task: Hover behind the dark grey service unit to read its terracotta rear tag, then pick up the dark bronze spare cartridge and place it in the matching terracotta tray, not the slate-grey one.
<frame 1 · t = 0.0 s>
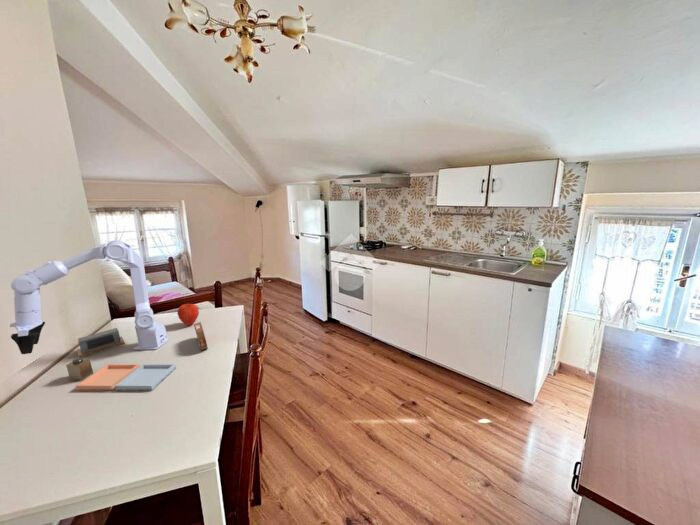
hand: (30, 348, 93), 11 cm above the table, tool pointing down, fingers open, 7 cm apart
service unit: (101, 347, 113), on the table
cartridge: (82, 377, 94), on the table
slate tray: (148, 378, 92), on the table
tin: (202, 345, 113), on the table
terracotta tray: (110, 378, 93), on the table
apple: (190, 325, 131), on the table
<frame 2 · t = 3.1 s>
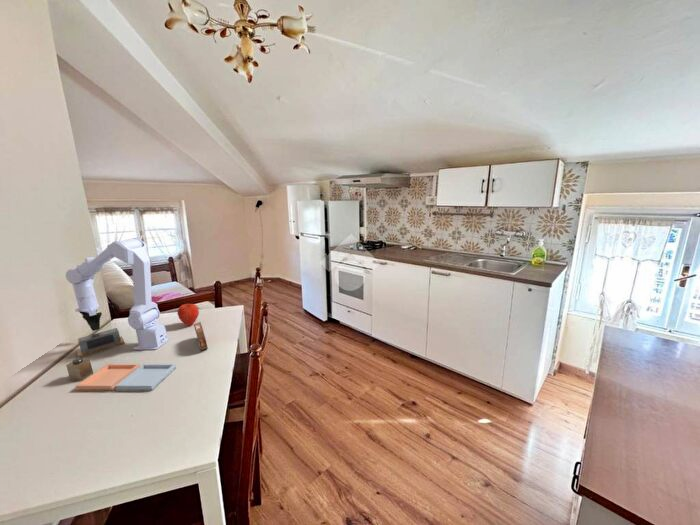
hand: (94, 327, 114), 8 cm above the table, tool pointing down, fingers open, 7 cm apart
nothing on the table moved.
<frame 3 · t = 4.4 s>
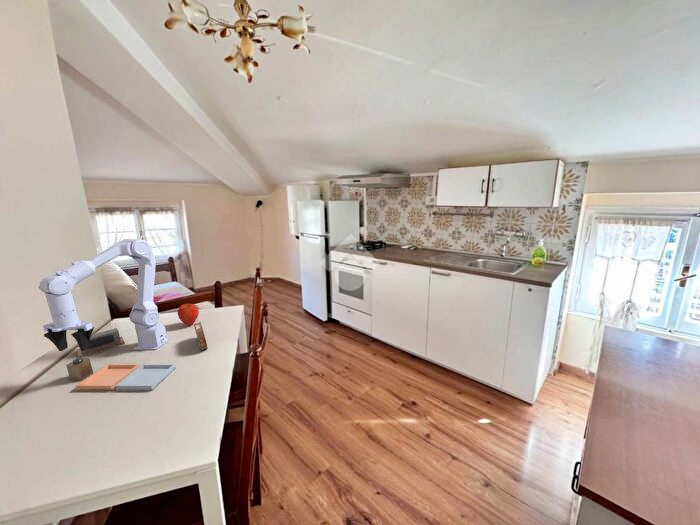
hand: (74, 349, 92), 10 cm above the table, tool pointing down, fingers open, 7 cm apart
nothing on the table moved.
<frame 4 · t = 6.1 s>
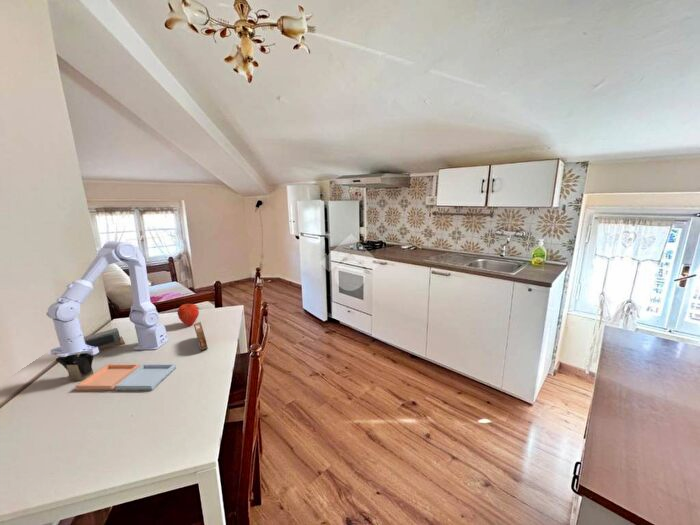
hand: (81, 372, 94), 2 cm above the table, tool pointing down, fingers closed on cartridge, 4 cm apart
cartridge: (82, 377, 94), on the table, touching gripper
everything else where it was.
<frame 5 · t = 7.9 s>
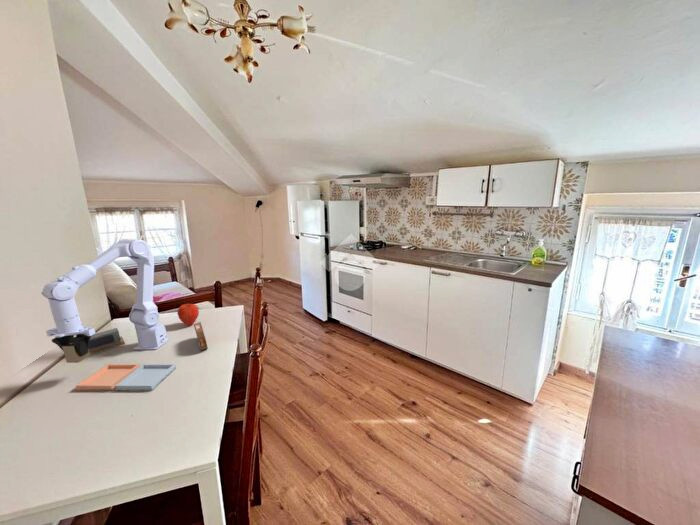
hand: (77, 354, 92), 9 cm above the table, tool pointing down, fingers closed on cartridge, 4 cm apart
cartridge: (78, 359, 92), point 7 cm above the table, touching gripper
everything else where it was.
when the fingers open (3 cm above the table, at t = 10.2 s): cartridge drops 1 cm, resting on terracotta tray.
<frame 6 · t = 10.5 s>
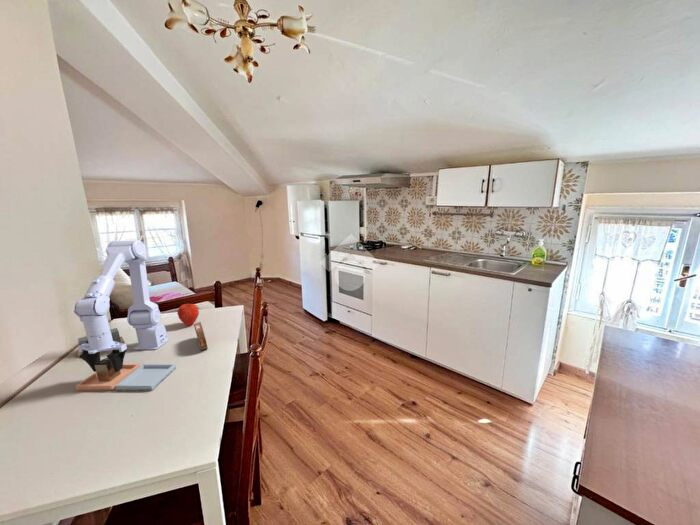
hand: (108, 370, 92), 3 cm above the table, tool pointing down, fingers open, 7 cm apart
cartridge: (110, 377, 92), point 1 cm above the table, touching terracotta tray
everything else where it was.
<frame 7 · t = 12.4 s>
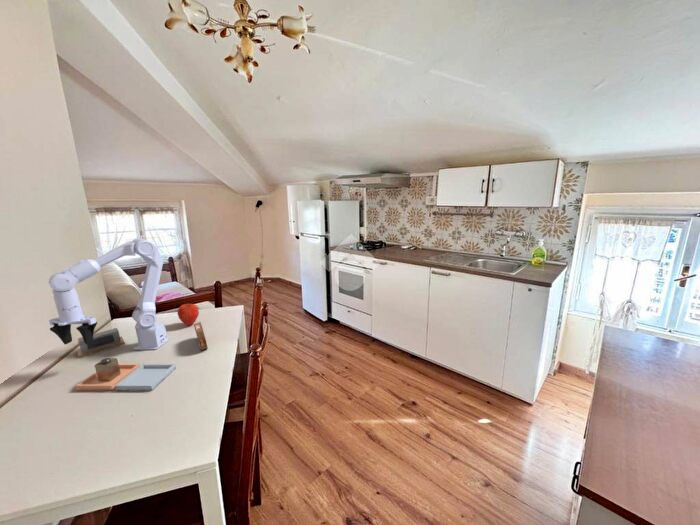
hand: (78, 342, 97), 10 cm above the table, tool pointing down, fingers open, 7 cm apart
nothing on the table moved.
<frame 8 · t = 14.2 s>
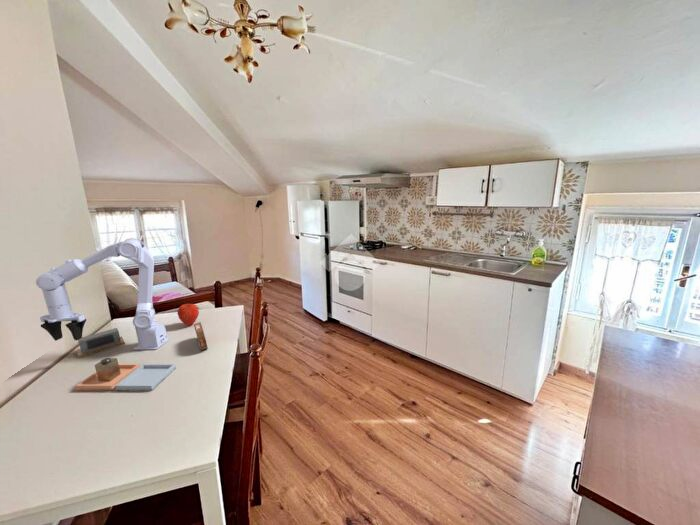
hand: (68, 339, 101), 9 cm above the table, tool pointing down, fingers open, 7 cm apart
nothing on the table moved.
at the end: cartridge 0.1 cm off-centre on the terracotta tray, point 0.6 cm above the terracotta tray's base; cartridge tilted 0°; the gripper is holding nothing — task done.
